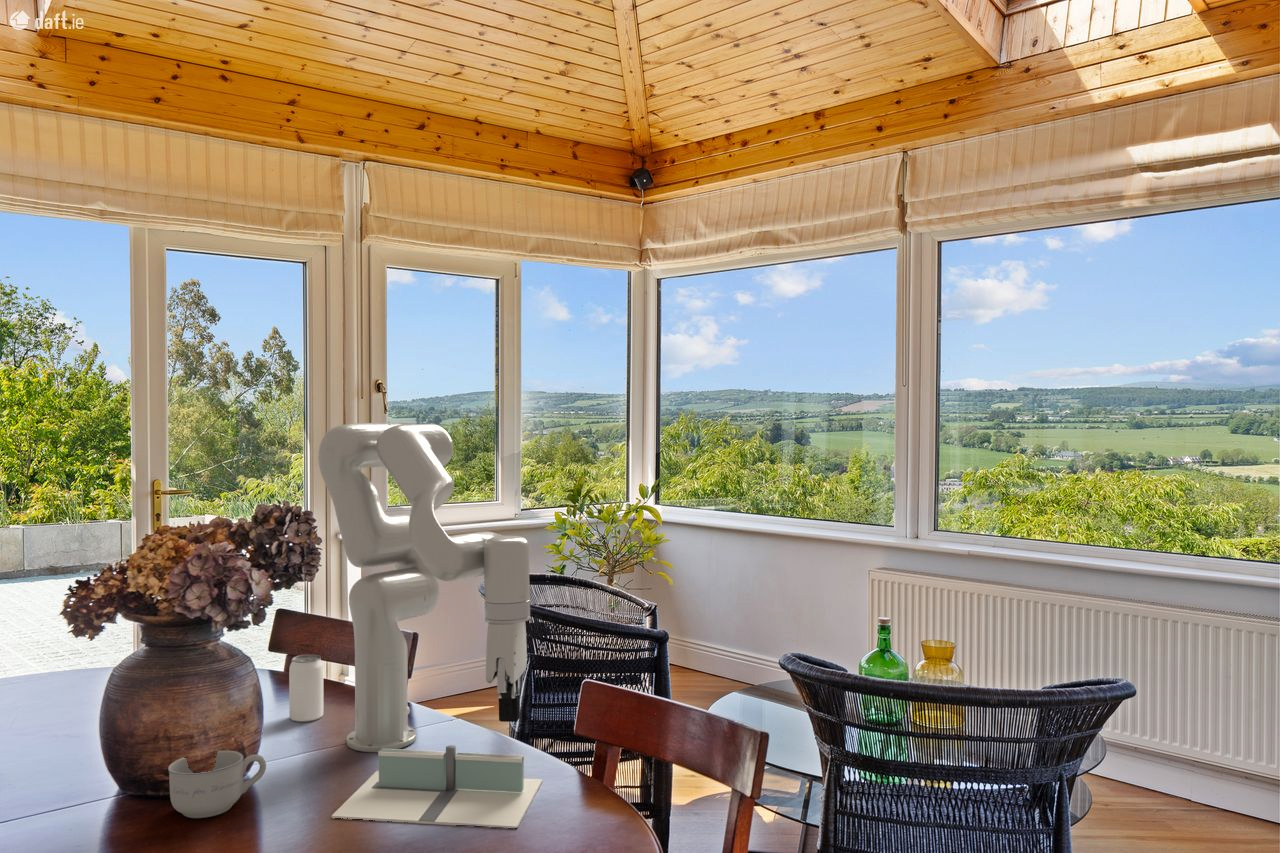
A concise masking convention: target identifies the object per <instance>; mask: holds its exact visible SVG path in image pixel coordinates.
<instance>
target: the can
mask: <svg viewBox="0 0 1280 853" xmlns="http://www.w3.org/2000/svg"><path fill="white" fill-rule="evenodd" d="M321 658H322V656H321V655H318V654H301V655H296V656H294V657H293V658H291V663H290V665H289V669H288V670H289V672H288V673H289V674H288V678H289V681H288V685H289V688H288V689H289V690H288V696H289V697H288V699H289V701H288V702H289V704H288V706H289V708H288V710H289V713H288V714H289V718H290V719H291V721H293V722H296V723H310V722H315V721H317V720H319V719H321V718H322V717H323V715H324V664H323V661H322V660H321Z"/></svg>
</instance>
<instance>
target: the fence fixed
mask: <svg viewBox="0 0 1280 853" xmlns="http://www.w3.org/2000/svg"><path fill="white" fill-rule="evenodd" d="M377 754H378V771H379V787H398V788H417V789H435V790H444V789H445V788H446V790H448V791H453V790H455V789H456V759H455V756H456V754H457V746H456V745H454V744H451V745H447V746H445V751H441V750H440V751H439V750H423V749H422V750H421V749H418V750H417V749H416V750H415V749H402V748H399V749H381V750H380V751H379V752H377Z"/></svg>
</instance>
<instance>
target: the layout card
mask: <svg viewBox="0 0 1280 853" xmlns="http://www.w3.org/2000/svg"><path fill="white" fill-rule="evenodd" d="M543 780H544V779H541V778H540V779H539V778H524V789H523V791H522V792H507V791H488V790H470V789H455V790H453V791H448V790H446V788H445V789H444V790H435V789H417V788H398V787H379V770H376V771H375V772H374V773H372V775H370V777H369V778H368V779H367V780H366V781H365V782H364V783H363V784H362V785H361V786H360V787H359V788H358V789H357V790H356V791H355V792H353V794H352V795H351V796H349V798H348V799H347V800H345V802H344V803H343V804H341V806H339V808H338V809H336V811H335V812H333V813H332V815H331V819H335V818H341V819H340V820H352V819H363V820H362V821H369V820H373V821H374V820H375V822H387V821H390V822H391V821H392V822H391V823H404V822H406V823H407V822H408V823H407V824H424V825H425V824H426V825H442V826H456V825H479V826H495V827H497V826H498V827H507V828H506V829H508V828H517V827H518V828H519V826H520V824H521V823H520V822H522V821H523V818H524V817H525V815H526V813H527V812H528V810H529V808H530V806H531V805H532V803H533V800H534V798H535V797H536V795H537V792H538V791H539V790H540V787H541V785H542V783H543ZM527 809H528V810H527ZM526 811H527V812H526ZM342 818H343V819H342ZM347 818H348V819H347ZM521 820H522V821H521ZM518 828H517V829H518Z"/></svg>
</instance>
